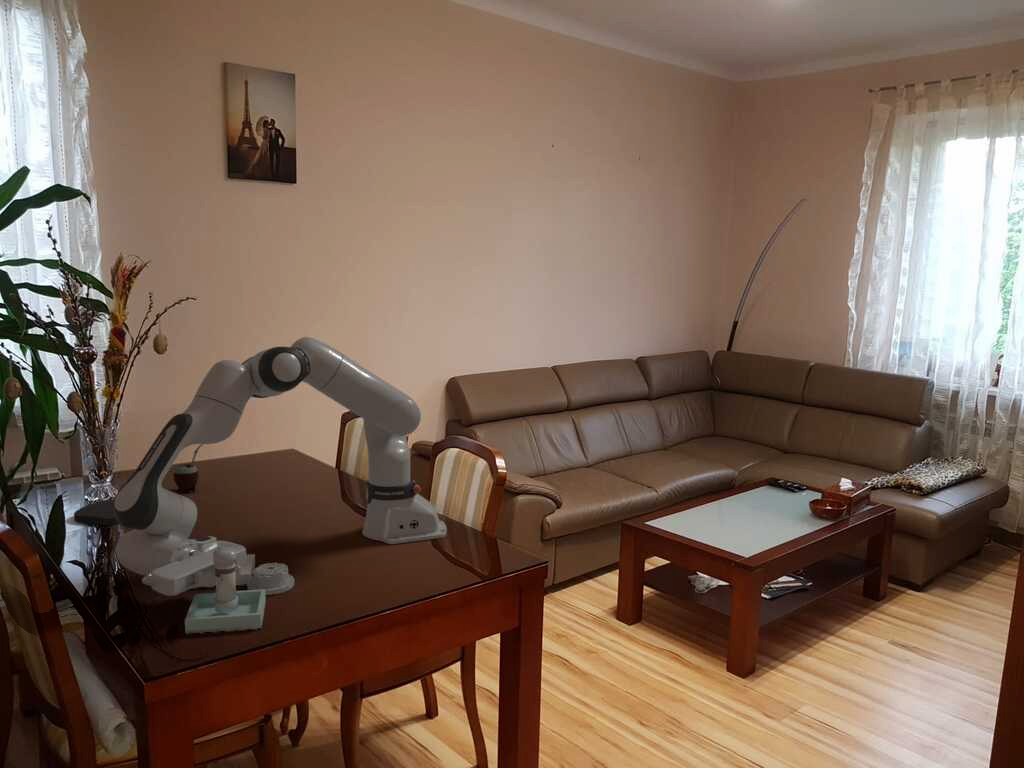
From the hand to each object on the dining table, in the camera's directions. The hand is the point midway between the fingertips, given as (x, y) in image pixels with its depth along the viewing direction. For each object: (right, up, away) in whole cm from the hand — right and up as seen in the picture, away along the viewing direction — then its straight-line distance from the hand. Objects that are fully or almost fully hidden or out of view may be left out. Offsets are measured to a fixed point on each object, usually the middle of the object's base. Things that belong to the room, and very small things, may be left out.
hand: (229, 575), depth 156 cm
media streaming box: (-55, +1, +60) cm, 81 cm away
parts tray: (-1, -9, +2) cm, 9 cm away
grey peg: (-1, -7, +1) cm, 7 cm away
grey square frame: (-9, -5, +22) cm, 25 cm away
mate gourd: (-43, +5, +84) cm, 95 cm away
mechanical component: (+3, -7, +18) cm, 19 cm away
